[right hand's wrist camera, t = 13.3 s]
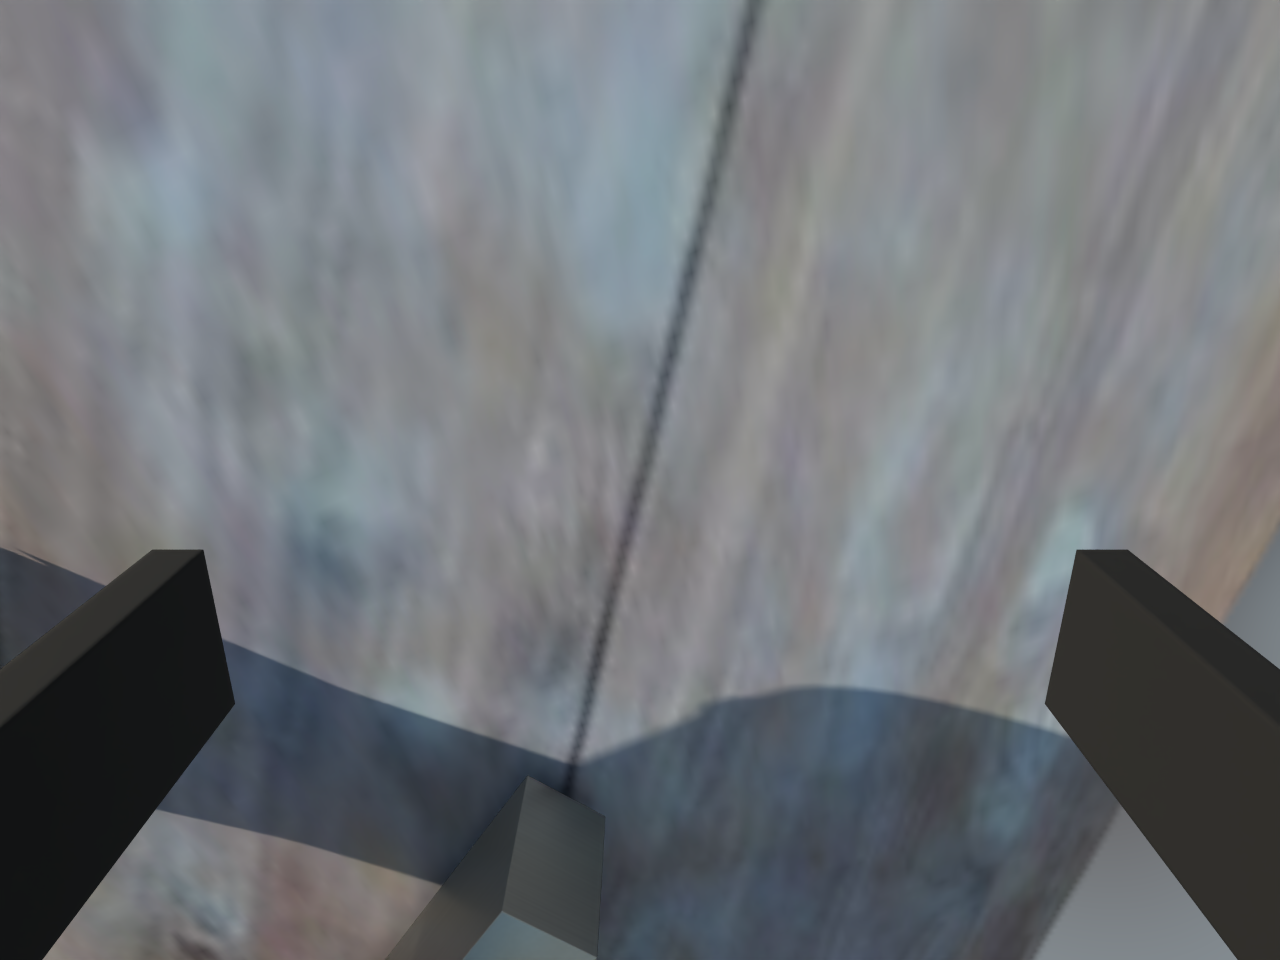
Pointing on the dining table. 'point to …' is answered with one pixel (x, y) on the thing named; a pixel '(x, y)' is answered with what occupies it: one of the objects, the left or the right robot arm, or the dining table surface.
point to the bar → (519, 887)
